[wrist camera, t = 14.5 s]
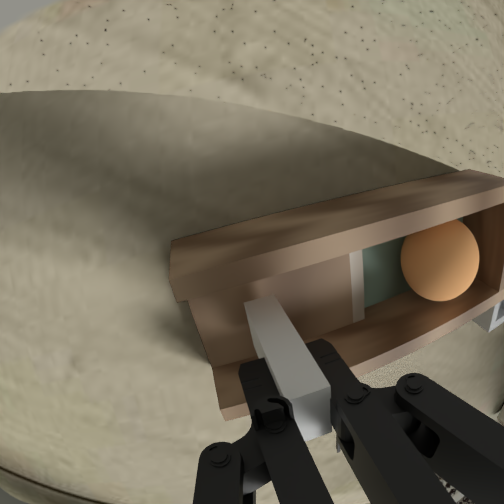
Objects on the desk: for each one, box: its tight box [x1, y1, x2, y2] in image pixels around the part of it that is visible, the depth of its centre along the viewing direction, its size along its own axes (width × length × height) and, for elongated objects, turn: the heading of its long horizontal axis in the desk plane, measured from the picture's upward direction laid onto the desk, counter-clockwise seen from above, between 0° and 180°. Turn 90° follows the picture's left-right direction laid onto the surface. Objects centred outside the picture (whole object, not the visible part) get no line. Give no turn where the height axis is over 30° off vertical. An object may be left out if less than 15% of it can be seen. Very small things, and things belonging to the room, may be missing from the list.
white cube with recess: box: [472, 300, 504, 333], centre depth 21 cm, size 4×4×3 cm
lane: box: [169, 169, 504, 421], centre depth 16 cm, size 20×8×4 cm, turn 102°
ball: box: [401, 219, 479, 301], centre depth 16 cm, size 5×5×5 cm
